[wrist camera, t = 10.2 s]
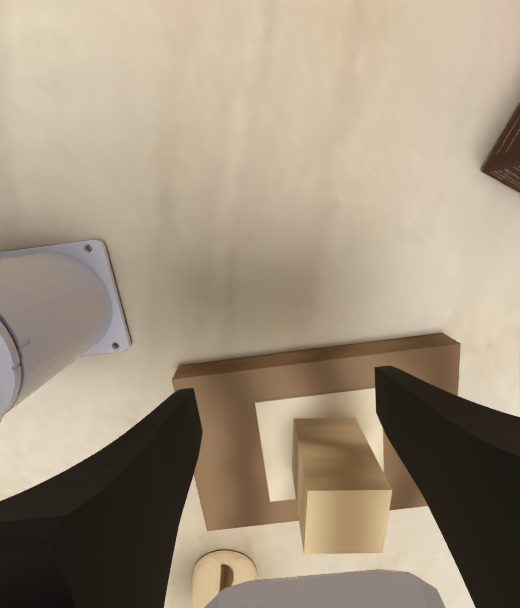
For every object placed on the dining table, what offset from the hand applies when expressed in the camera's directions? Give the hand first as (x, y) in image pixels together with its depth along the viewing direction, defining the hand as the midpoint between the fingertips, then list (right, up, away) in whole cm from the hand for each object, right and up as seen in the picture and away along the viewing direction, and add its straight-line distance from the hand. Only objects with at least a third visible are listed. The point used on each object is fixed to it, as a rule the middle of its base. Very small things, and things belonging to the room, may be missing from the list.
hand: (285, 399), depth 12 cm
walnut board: (+4, -6, +13) cm, 15 cm away
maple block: (+4, -7, +10) cm, 13 cm away
